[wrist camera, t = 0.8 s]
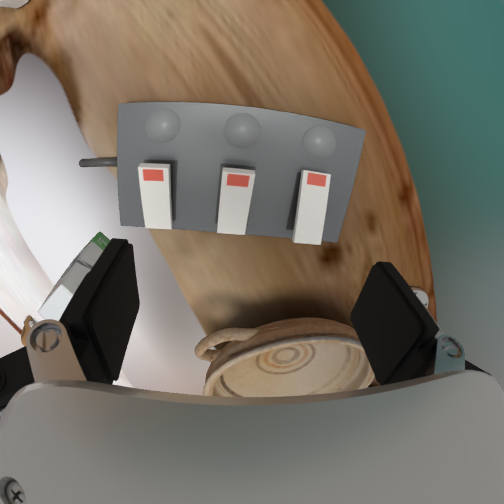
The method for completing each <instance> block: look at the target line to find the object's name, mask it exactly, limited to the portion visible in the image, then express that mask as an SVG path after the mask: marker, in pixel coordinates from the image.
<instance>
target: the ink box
mask: <svg viewBox="0 0 504 504" xmlns="http://www.w3.org/2000/svg"><path fill="white" fill-rule="evenodd" d="M109 242H110V240H109V239H108V238H107V237H106V236H105V235H104V234H102V233H101V232H99V233H98V234H96V236H95V237H94V238H93V239H92V240H91V241H90V242H89V243H88V244H87V245H86V246H85V247H84V249H83V250H82V251H81V252H80V253H79V254H78V255H77V257H76V258H75V259H74V260H73V261H72V263H71V264H70V266H69V267H68V268H67V269H66V271H65V272H64V273H63V275H62V276H61V278H60V279H59V280H58V282H57V283H56V285H55V286H54V288H53V289H52V291H51V292H50V294H49V295H48V297H47V298H46V300H45V302H44V303H43V305H42V306H41V308H40V309H39V311H38V313H39V314H40V315H41V316H42V317H43V318H44V319H45V320H47V319H54V320H57V321H59V319H60V318H61V316H62V314H63V312H64V310H65V309H66V307H67V305H68V303H69V302H70V300H71V298H72V296H73V295H74V293H75V291H76V290H77V288H78V286H79V285H80V283H81V282H82V280H83V278H84V277H85V275H86V274H87V273H88V272H90V270H91V269H92V267H93V266H94V264H95V263H96V261H97V260H98V258H99V257H100V255H101V254H102V252H103V251H104V249H105V248H106V246H107V245H108V243H109Z"/></svg>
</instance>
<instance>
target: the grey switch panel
mask: <svg viewBox="0 0 504 504" xmlns="http://www.w3.org/2000/svg"><path fill="white" fill-rule="evenodd" d="M365 133H366V130H363V129H360V128H356V127H353V126H349V125H345V124H341V123H337V122H333V121H329V120H324V119H320V118H315V117H310V116H305V115H300V114H295V113H289V112H283V111H277V110H270V109H263V108H256V107H247V106H238V105H227V104H215V103H197V102H137V103H122V104H119V105H118V126H117V158H95V159H81V160H80V162H79V165H80V167H100V166H101V167H103V166H117V174H118V196H119V210H120V222H121V226H136V227H145V222H144V215H143V208H142V200H141V192H140V183H139V174H138V166H139V165H140V163H153V164H170V178H171V203H172V221H173V226H172V229H182V230H196V231H209V232H217V227H218V215H219V203H220V192H221V181H222V171H223V167H226V168H237V169H247V170H255V179H254V185H253V190H252V196H251V202H250V207H249V213H248V219H247V225H246V230H245V234H248V235H260V236H272V237H283V238H293V232H294V225H295V217H296V210H297V202H298V194H299V187H300V178H301V170H308V171H314V172H320V173H326V174H331V178H330V185H329V193H328V200H327V207H326V214H325V221H324V227H323V233H322V239H321V241H327V242H337V241H338V238H339V234H340V231H341V228H342V224H343V221H344V217H345V214H346V210H347V207H348V203H349V199H350V196H351V192H352V188H353V184H354V180H355V176H356V172H357V168H358V164H359V160H360V156H361V151H362V147H363V142H364V137H365Z"/></svg>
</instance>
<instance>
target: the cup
mask: <svg viewBox="0 0 504 504" xmlns="http://www.w3.org/2000/svg"><path fill="white" fill-rule="evenodd" d="M28 1H29V0H0V7H10V8H19V7H21V6H23V5H24V4H25V3H27V2H28Z"/></svg>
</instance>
